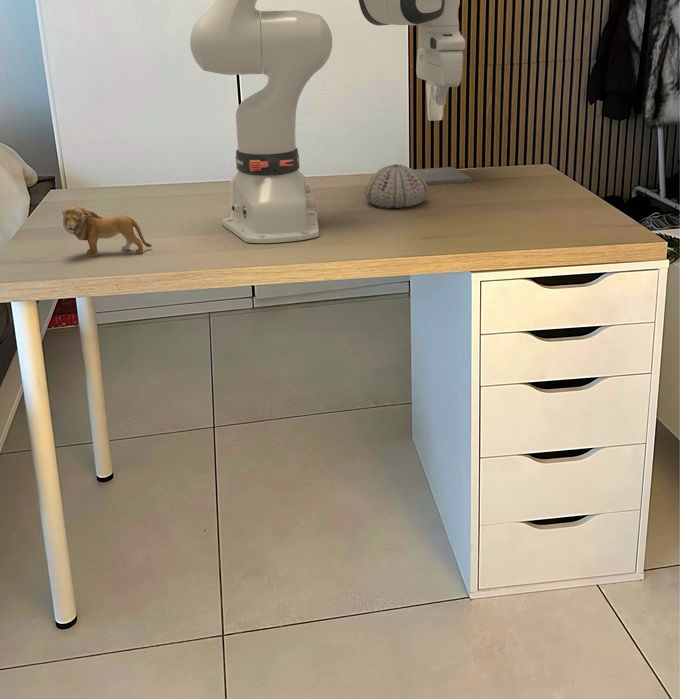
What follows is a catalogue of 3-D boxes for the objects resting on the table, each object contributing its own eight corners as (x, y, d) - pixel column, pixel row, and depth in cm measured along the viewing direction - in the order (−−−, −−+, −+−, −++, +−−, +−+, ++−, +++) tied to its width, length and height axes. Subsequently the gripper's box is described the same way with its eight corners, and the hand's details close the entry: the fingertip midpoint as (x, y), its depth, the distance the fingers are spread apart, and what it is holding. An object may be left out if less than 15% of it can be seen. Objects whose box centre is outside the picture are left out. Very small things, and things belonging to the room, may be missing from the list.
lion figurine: (68, 262, 158) (61, 211, 154) (67, 253, 162) (60, 204, 159) (154, 253, 162) (149, 203, 158) (150, 245, 167) (145, 196, 163)
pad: (471, 181, 209) (471, 178, 209) (417, 185, 206) (418, 182, 206) (451, 170, 221) (451, 166, 220) (400, 173, 218) (400, 170, 218)
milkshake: (449, 121, 206) (450, 75, 202) (425, 121, 206) (426, 75, 202) (447, 118, 210) (449, 72, 206) (424, 118, 210) (425, 73, 206)
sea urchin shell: (438, 207, 189) (439, 168, 185) (377, 214, 184) (377, 174, 181) (412, 193, 200) (412, 156, 197) (354, 199, 196) (354, 162, 193)
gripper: (410, 36, 210) (409, 98, 215) (440, 42, 192) (438, 110, 197) (436, 35, 211) (434, 96, 217) (468, 41, 193) (466, 108, 198)
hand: (436, 103), depth 207 cm, fingers closed on milkshake, 4 cm apart
